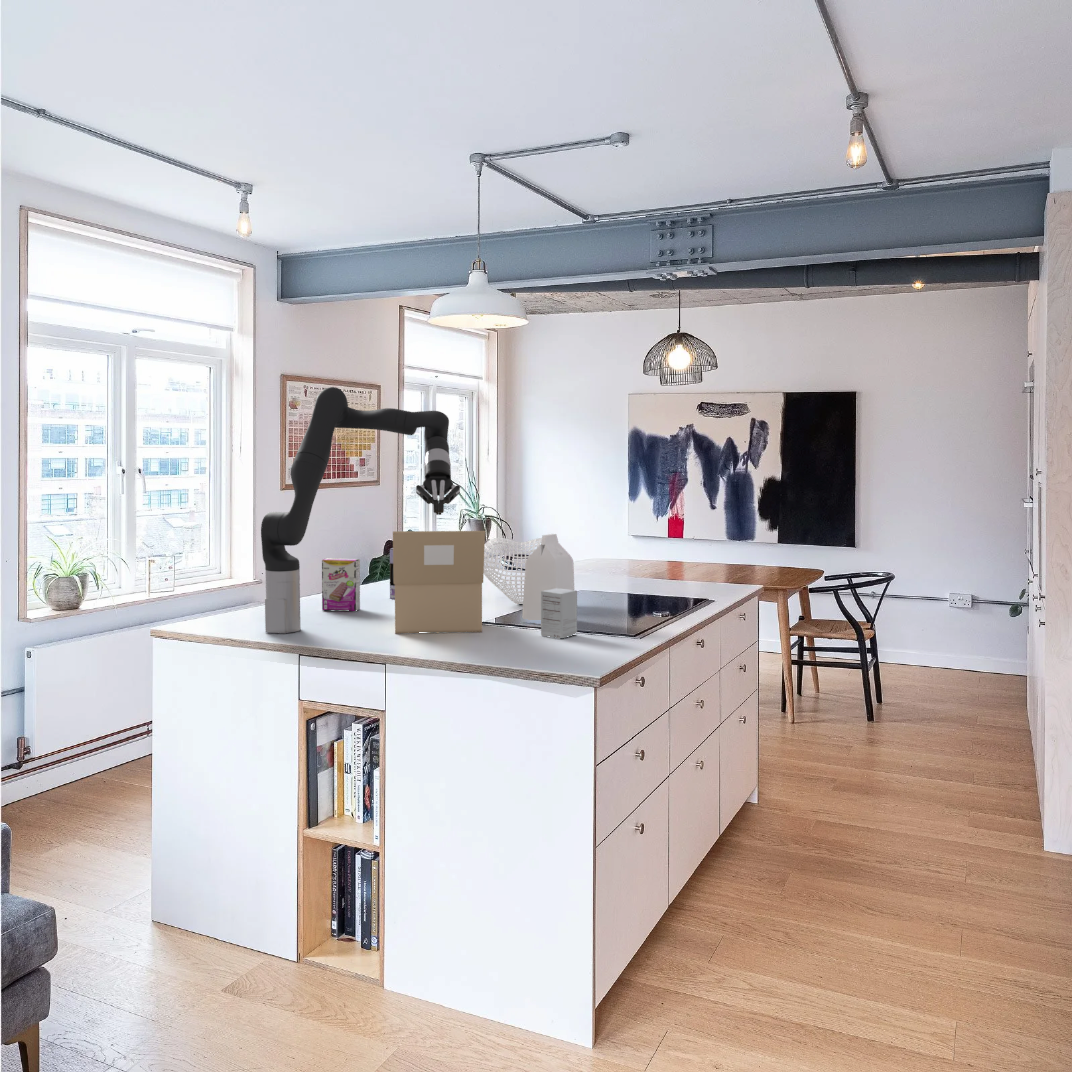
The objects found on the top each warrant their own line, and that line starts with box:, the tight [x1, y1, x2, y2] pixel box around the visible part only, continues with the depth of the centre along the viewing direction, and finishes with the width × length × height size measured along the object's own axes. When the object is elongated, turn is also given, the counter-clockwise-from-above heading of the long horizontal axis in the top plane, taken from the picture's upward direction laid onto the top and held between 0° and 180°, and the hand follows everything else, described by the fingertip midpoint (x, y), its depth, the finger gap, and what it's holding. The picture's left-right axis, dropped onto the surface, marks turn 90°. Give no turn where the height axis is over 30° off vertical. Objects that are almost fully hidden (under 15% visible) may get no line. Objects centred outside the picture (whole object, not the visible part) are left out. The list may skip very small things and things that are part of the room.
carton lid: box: [392, 530, 486, 584], centre depth 259 cm, size 16×25×1 cm
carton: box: [394, 583, 483, 635], centre depth 271 cm, size 16×24×14 cm, turn 97°
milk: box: [521, 533, 575, 620], centre depth 282 cm, size 12×12×26 cm
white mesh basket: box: [483, 537, 542, 605], centre depth 312 cm, size 28×16×22 cm, turn 90°
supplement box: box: [540, 588, 578, 639], centre depth 261 cm, size 7×7×13 cm
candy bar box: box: [321, 557, 361, 612], centre depth 301 cm, size 11×5×16 cm, turn 84°
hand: (438, 512), depth 263 cm, fingers closed
